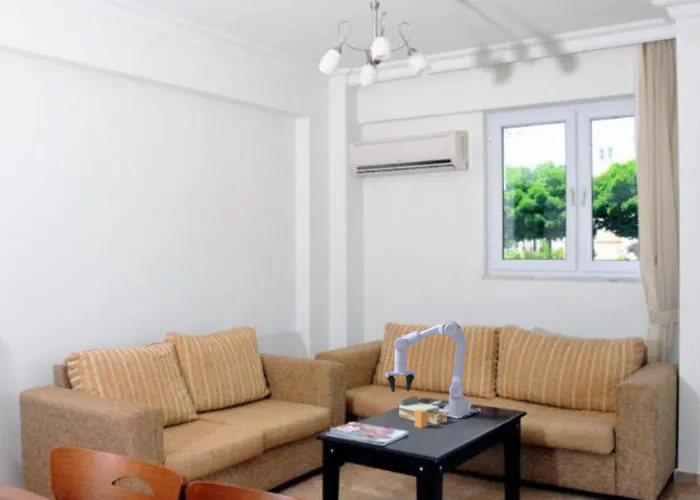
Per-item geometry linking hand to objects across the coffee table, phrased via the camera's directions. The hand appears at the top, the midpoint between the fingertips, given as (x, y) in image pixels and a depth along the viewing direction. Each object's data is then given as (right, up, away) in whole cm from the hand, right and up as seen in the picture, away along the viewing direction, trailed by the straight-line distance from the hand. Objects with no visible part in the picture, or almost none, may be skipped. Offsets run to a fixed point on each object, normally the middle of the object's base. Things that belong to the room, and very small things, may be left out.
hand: (400, 391), depth 349 cm
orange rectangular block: (+7, -11, -25) cm, 28 cm away
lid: (+8, -6, -9) cm, 13 cm away
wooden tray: (+10, -11, -11) cm, 19 cm away
